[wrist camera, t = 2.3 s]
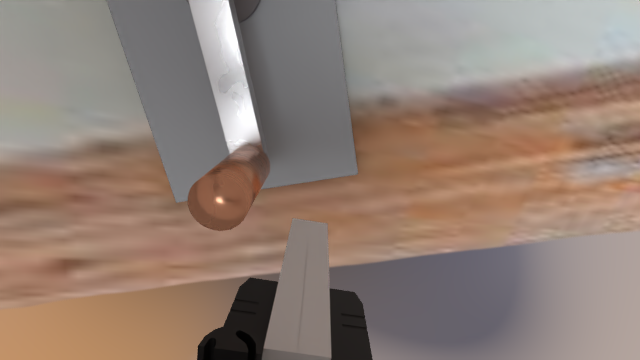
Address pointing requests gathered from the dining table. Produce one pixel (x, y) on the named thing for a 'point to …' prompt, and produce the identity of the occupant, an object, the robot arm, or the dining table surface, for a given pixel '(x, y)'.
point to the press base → (267, 78)
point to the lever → (229, 121)
